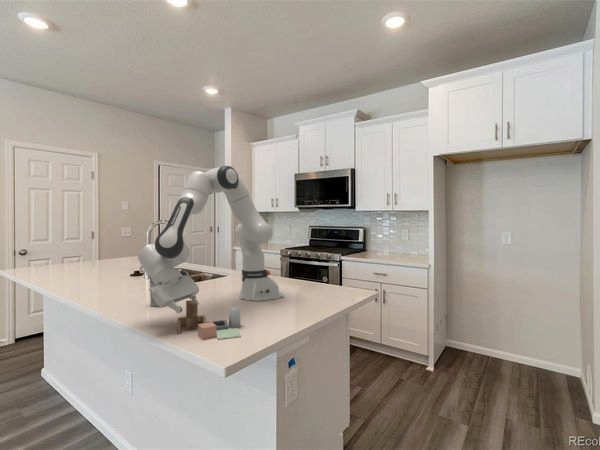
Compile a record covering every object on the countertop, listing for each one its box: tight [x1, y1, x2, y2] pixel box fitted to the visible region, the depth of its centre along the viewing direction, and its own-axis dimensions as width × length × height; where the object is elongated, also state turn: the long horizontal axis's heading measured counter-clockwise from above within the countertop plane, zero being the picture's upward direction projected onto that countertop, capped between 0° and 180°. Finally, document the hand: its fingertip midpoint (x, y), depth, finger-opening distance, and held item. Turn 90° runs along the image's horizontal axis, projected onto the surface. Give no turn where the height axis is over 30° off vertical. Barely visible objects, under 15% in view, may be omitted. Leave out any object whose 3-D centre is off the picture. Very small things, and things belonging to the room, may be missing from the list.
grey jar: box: [228, 305, 241, 329], centre depth 126 cm, size 4×4×7 cm
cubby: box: [176, 314, 207, 335], centre depth 123 cm, size 10×10×3 cm
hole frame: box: [206, 319, 230, 330], centre depth 124 cm, size 8×8×2 cm
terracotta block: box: [197, 321, 217, 340], centre depth 116 cm, size 5×5×4 cm
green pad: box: [216, 327, 242, 341], centre depth 117 cm, size 8×8×1 cm
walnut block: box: [185, 299, 199, 331], centre depth 123 cm, size 4×4×10 cm
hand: (188, 308), depth 124 cm, fingers open, 8 cm apart
